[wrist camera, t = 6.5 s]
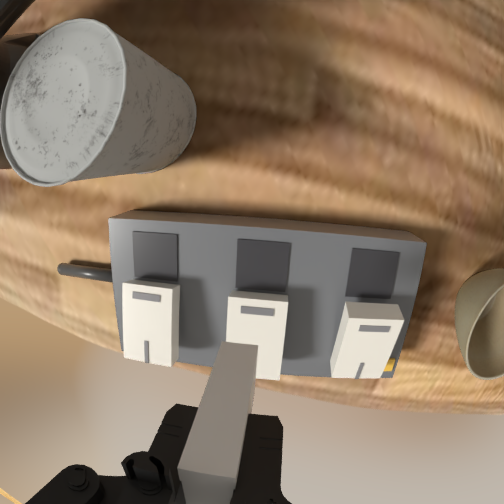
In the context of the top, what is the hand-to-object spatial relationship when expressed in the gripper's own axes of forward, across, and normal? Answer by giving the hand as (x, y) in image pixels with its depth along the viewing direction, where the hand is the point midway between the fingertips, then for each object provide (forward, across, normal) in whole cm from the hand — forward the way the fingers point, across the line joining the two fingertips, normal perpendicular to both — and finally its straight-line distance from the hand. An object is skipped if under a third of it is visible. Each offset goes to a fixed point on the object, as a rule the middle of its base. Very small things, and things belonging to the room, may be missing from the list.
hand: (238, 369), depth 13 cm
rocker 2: (+9, 0, -4) cm, 9 cm away
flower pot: (+15, +21, -2) cm, 26 cm away
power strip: (+14, -4, -2) cm, 15 cm away
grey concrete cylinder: (+15, -11, +12) cm, 22 cm away
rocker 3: (+9, +8, -4) cm, 13 cm away
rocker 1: (+9, -8, -4) cm, 12 cm away
